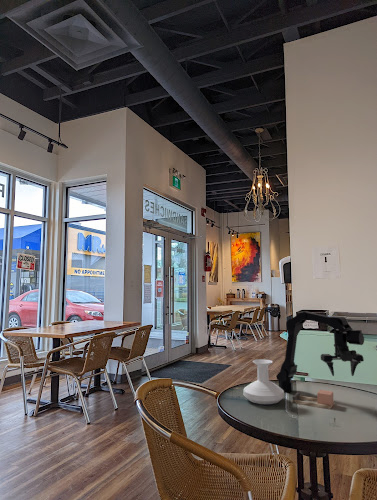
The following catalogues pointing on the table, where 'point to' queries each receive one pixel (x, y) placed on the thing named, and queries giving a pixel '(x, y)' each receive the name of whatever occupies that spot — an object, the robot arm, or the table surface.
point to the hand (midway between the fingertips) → (342, 375)
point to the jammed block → (325, 397)
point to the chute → (296, 400)
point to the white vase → (263, 386)
